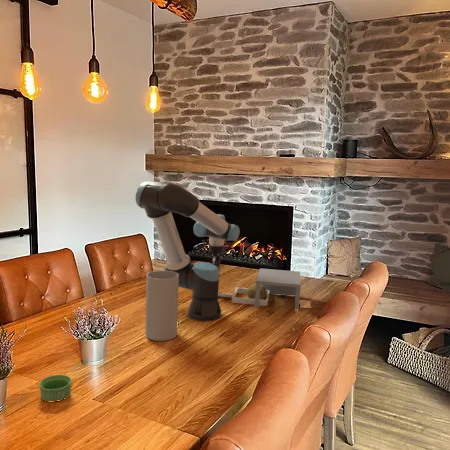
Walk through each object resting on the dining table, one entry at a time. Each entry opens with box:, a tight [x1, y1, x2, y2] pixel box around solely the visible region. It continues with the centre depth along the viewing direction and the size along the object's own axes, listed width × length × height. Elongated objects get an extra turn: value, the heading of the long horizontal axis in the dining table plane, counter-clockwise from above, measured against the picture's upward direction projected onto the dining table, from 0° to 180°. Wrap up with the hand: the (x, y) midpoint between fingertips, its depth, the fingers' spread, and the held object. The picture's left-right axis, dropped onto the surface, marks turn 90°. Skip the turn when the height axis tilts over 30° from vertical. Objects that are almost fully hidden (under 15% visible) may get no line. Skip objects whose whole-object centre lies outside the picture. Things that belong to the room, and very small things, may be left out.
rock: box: [247, 283, 267, 300], centre depth 229 cm, size 10×11×10 cm
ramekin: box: [38, 374, 73, 402], centre depth 133 cm, size 9×9×4 cm
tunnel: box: [254, 268, 301, 310], centre depth 226 cm, size 28×25×14 cm
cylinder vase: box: [144, 270, 179, 342], centre depth 178 cm, size 12×12×25 cm
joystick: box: [217, 267, 270, 306], centre depth 229 cm, size 30×18×15 cm, turn 81°
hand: (214, 289), depth 232 cm, fingers closed on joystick, 3 cm apart
